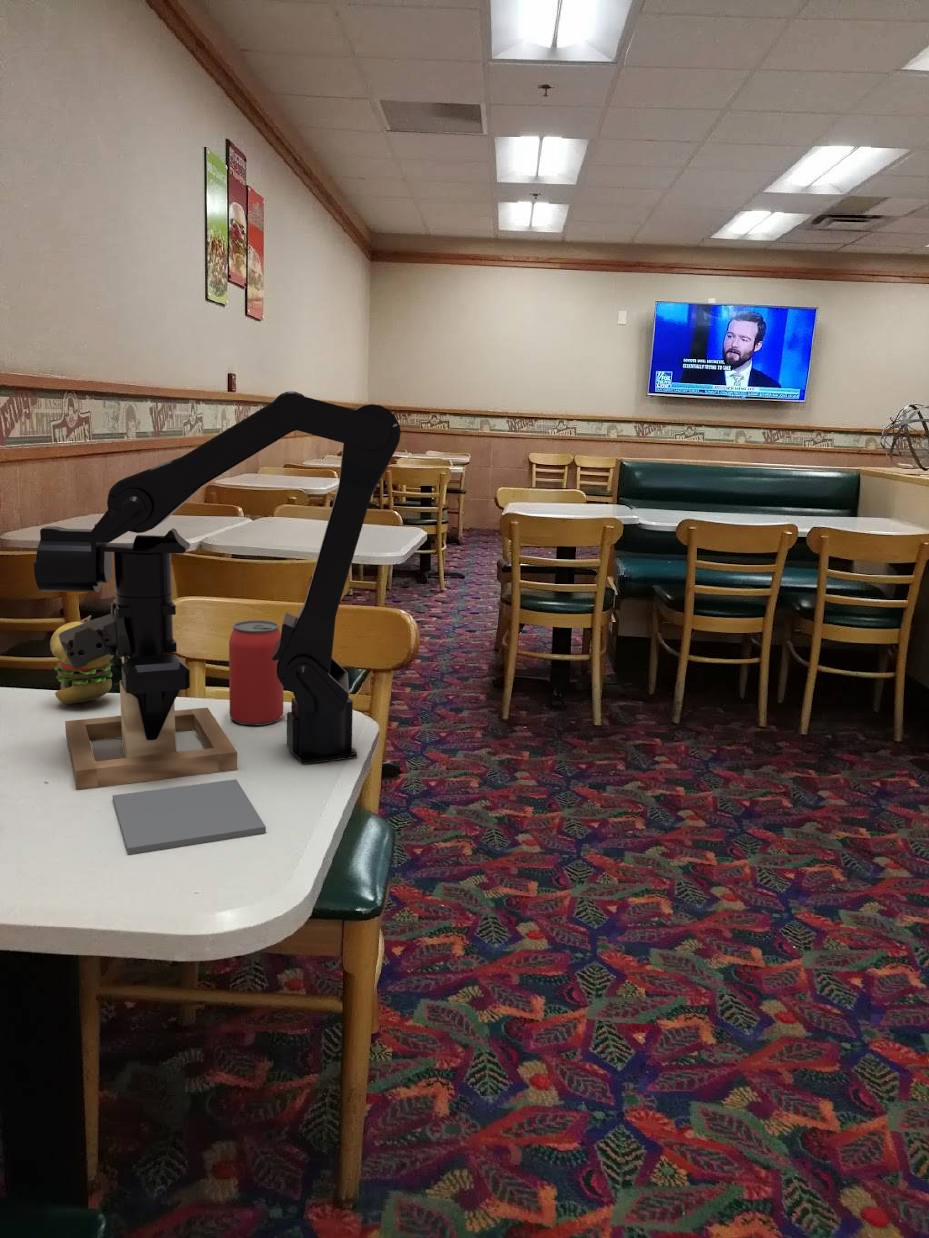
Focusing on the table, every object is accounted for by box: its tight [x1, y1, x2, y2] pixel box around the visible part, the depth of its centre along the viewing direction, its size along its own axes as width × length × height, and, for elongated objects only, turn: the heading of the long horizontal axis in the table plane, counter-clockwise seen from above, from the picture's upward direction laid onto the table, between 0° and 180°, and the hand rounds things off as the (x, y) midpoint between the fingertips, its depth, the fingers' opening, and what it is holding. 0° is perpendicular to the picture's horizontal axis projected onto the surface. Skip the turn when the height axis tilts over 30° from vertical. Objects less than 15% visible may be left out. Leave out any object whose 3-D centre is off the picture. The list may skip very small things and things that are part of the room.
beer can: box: [228, 619, 284, 726], centre depth 115 cm, size 7×7×12 cm
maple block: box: [119, 679, 177, 758], centre depth 102 cm, size 5×5×8 cm
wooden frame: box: [64, 707, 238, 791], centre depth 103 cm, size 16×16×2 cm
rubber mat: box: [111, 778, 267, 856], centre depth 88 cm, size 12×12×1 cm
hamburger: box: [49, 615, 115, 704], centre depth 117 cm, size 8×7×12 cm
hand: (148, 731), depth 103 cm, fingers closed on maple block, 5 cm apart
